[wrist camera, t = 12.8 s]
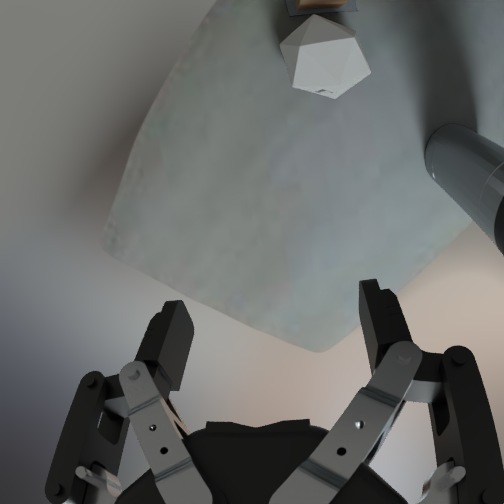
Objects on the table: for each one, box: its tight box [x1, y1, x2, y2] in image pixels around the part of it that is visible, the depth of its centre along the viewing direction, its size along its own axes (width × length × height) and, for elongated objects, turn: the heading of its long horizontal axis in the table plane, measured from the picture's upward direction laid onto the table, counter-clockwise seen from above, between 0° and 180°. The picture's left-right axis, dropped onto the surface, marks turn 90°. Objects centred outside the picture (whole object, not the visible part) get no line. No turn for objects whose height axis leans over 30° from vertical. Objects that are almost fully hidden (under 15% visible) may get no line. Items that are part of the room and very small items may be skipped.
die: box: [279, 14, 371, 99], centre depth 27 cm, size 8×9×10 cm
